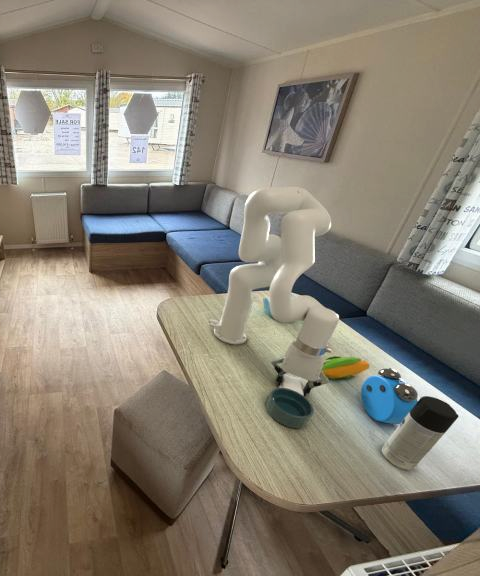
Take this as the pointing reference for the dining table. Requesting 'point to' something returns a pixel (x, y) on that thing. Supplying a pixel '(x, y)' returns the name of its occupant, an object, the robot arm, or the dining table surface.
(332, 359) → the corn
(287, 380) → the soap
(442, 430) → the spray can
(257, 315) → the dining table surface
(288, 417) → the bowl
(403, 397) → the alarm clock
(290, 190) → the robot arm
